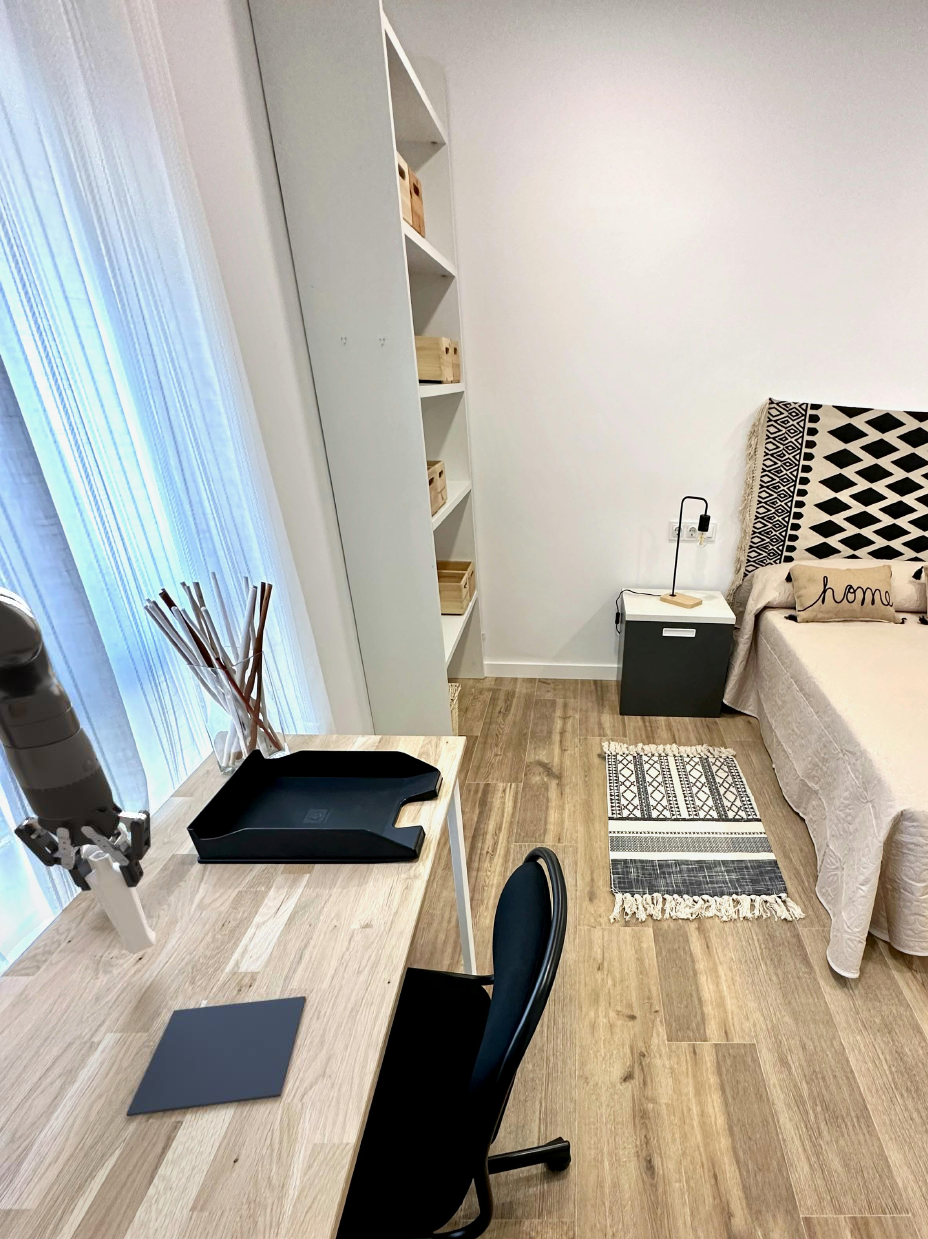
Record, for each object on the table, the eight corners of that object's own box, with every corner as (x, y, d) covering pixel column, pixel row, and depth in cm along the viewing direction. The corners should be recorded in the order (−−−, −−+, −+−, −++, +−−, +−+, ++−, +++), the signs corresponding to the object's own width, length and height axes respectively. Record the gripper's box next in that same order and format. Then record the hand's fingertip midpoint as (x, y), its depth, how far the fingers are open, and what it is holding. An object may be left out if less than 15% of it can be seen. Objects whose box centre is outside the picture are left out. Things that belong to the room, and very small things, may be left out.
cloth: (127, 1116, 72) (125, 1114, 72) (174, 1012, 83) (173, 1010, 83) (280, 1096, 74) (279, 1094, 74) (306, 998, 86) (305, 995, 86)
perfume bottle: (120, 937, 89) (78, 849, 81) (158, 927, 90) (120, 841, 82) (117, 960, 85) (73, 871, 77) (156, 949, 87) (117, 861, 79)
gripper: (142, 749, 78) (184, 862, 87) (6, 755, 75) (65, 870, 84) (113, 782, 71) (162, 900, 80) (-35, 790, 69) (33, 910, 78)
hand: (112, 884), depth 82 cm, fingers closed on perfume bottle, 4 cm apart
